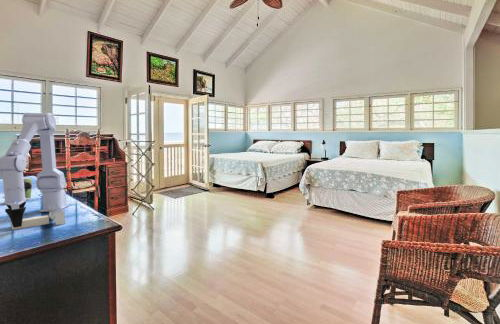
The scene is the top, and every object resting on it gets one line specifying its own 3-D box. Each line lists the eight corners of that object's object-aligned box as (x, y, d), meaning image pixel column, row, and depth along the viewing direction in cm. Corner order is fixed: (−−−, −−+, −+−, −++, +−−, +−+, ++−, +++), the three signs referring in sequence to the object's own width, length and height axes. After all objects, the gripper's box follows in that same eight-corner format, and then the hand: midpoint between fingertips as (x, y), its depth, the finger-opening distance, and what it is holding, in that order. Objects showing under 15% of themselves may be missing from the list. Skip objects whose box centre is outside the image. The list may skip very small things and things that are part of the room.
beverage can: (15, 200, 140) (13, 177, 139) (33, 198, 146) (31, 176, 144) (16, 202, 136) (13, 179, 135) (34, 200, 141) (32, 177, 140)
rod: (11, 230, 98) (11, 222, 98) (12, 228, 100) (11, 220, 100) (49, 224, 105) (48, 216, 105) (48, 222, 107) (48, 214, 107)
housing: (49, 217, 113) (48, 206, 112) (58, 215, 115) (57, 204, 114) (56, 225, 103) (55, 213, 102) (65, 223, 105) (64, 211, 104)
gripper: (28, 189, 96) (32, 226, 97) (28, 184, 107) (31, 217, 108) (1, 192, 91) (5, 231, 93) (4, 186, 102) (7, 220, 104)
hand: (17, 224), depth 100 cm, fingers open, 7 cm apart
